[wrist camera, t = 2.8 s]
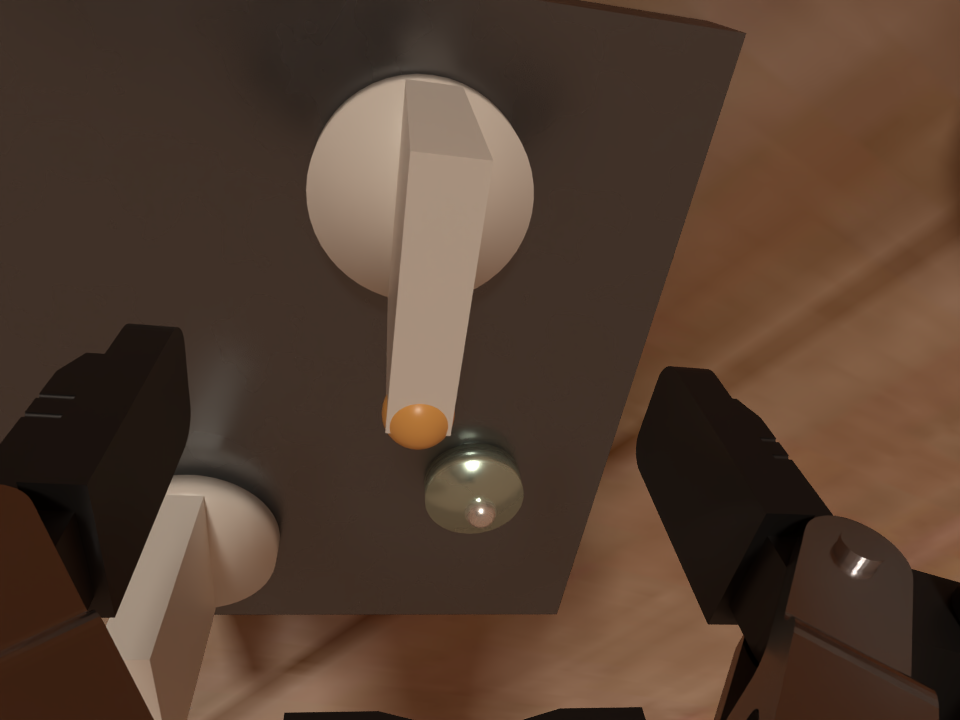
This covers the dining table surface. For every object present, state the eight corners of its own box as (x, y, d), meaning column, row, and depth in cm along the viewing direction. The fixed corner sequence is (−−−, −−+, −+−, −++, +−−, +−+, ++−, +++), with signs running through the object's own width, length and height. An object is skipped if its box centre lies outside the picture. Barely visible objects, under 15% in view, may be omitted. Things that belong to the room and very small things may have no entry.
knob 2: (311, 58, 16) (262, 139, 10) (546, 90, 17) (627, 181, 11) (309, 295, 20) (272, 459, 14) (505, 310, 21) (550, 470, 15)
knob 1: (96, 471, 23) (-13, 672, 17) (278, 477, 24) (238, 668, 18) (123, 596, 26) (42, 800, 20) (281, 597, 27) (248, 791, 21)
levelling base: (-154, -118, 16) (-306, -128, 12) (708, 20, 19) (775, 42, 16) (49, 564, 29) (2, 651, 25) (546, 569, 32) (564, 646, 29)
